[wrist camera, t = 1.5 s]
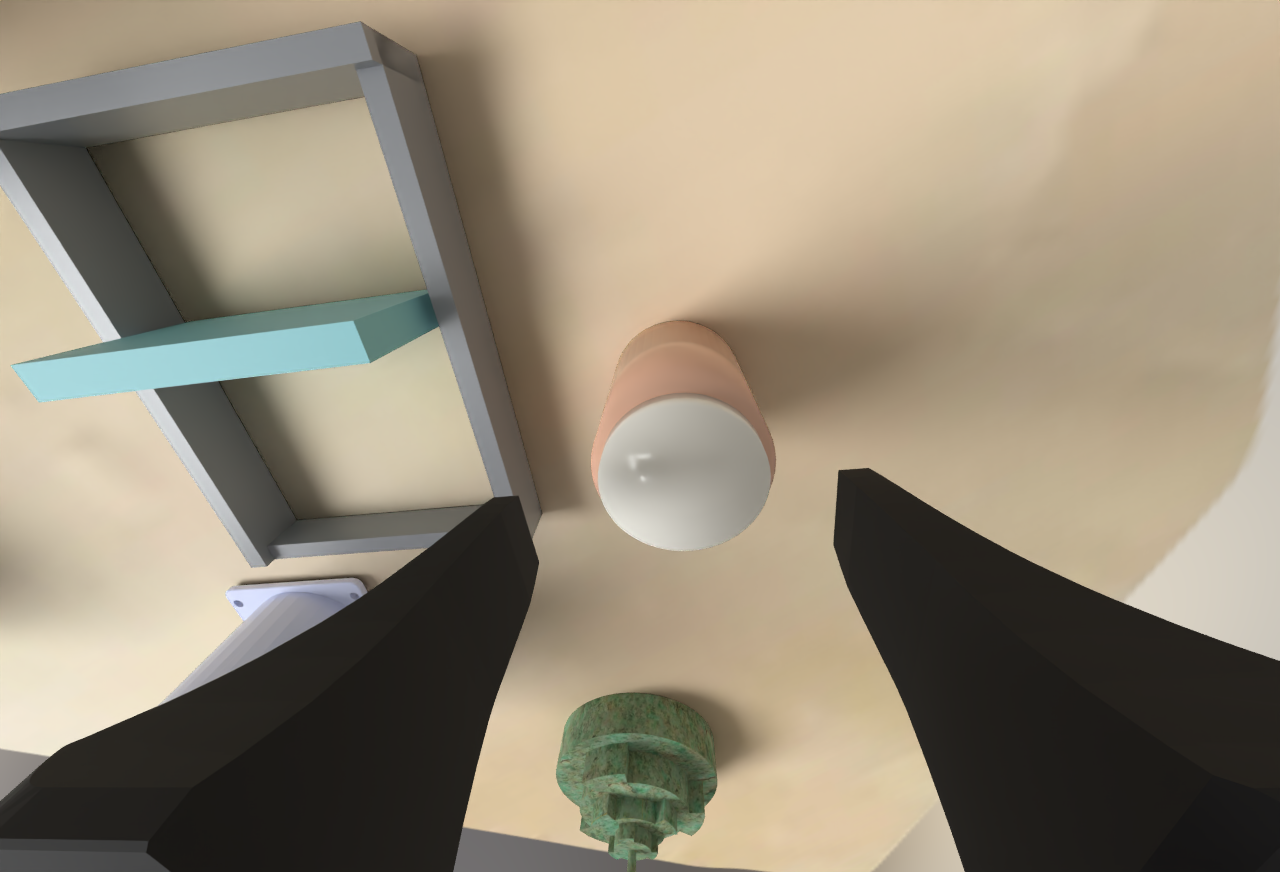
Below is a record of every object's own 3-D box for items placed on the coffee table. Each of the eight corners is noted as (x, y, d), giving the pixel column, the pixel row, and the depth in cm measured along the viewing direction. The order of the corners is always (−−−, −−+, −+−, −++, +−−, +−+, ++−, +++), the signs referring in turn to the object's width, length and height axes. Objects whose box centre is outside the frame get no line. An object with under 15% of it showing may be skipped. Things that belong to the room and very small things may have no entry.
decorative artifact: (685, 791, 33) (735, 710, 29) (690, 926, 27) (754, 849, 23) (551, 763, 33) (581, 675, 28) (524, 895, 26) (558, 809, 22)
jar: (741, 432, 20) (781, 552, 13) (624, 443, 21) (603, 564, 14) (737, 313, 18) (783, 382, 11) (605, 329, 18) (569, 404, 11)
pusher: (454, 318, 18) (370, 362, 13) (206, 349, 19) (39, 402, 14) (444, 286, 18) (353, 320, 13) (190, 321, 19) (10, 365, 14)
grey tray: (542, 513, 23) (525, 555, 20) (289, 533, 24) (242, 575, 21) (416, 55, 15) (360, 21, 12) (50, 124, 16) (-73, 108, 13)
